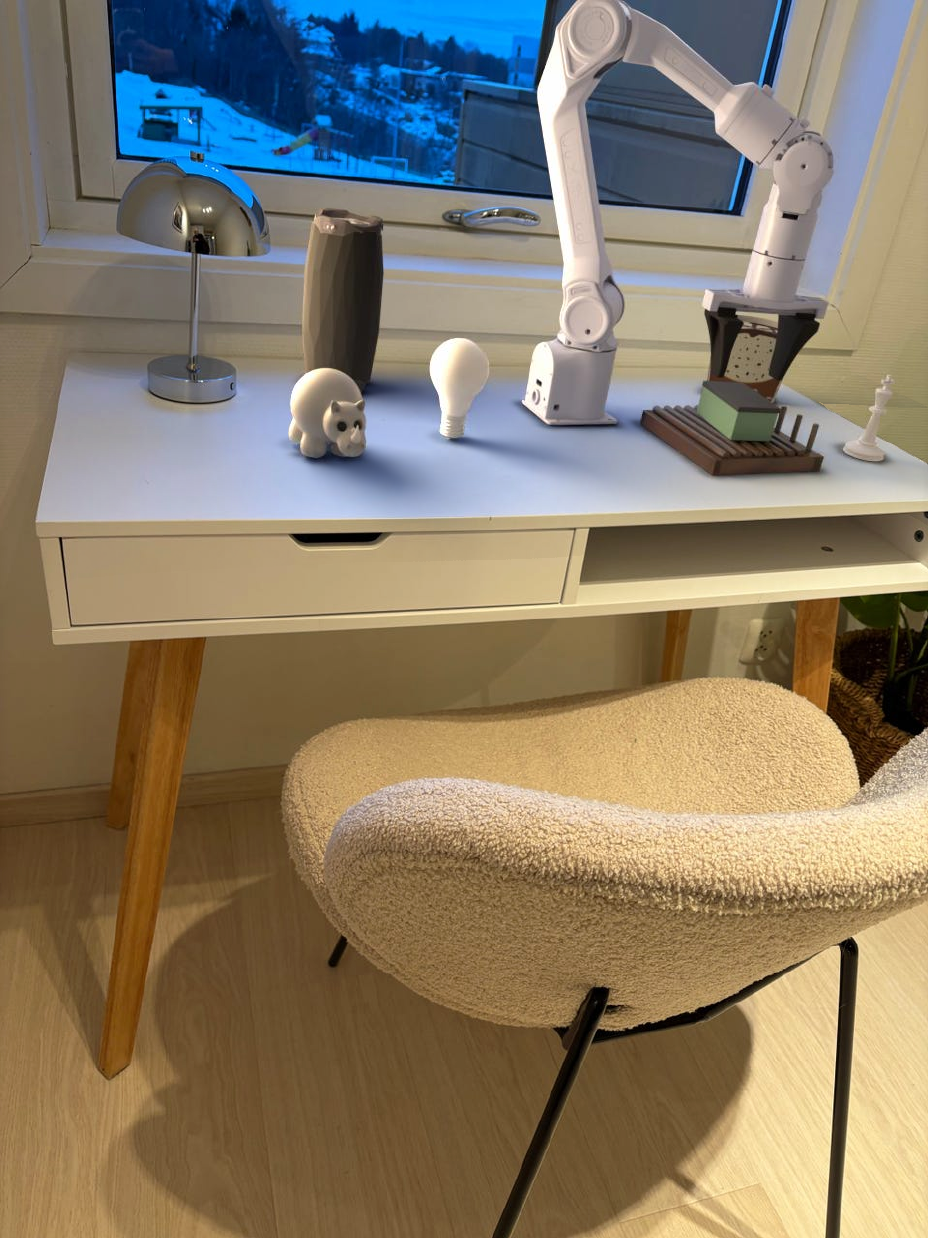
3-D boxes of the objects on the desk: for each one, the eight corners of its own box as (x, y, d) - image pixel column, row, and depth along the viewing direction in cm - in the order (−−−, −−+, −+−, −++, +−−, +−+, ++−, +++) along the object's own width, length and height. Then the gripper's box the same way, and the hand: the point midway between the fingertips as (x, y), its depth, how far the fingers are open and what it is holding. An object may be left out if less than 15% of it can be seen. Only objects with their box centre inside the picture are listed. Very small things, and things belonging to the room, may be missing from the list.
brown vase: (385, 384, 125) (401, 218, 116) (347, 402, 118) (360, 226, 108) (326, 367, 128) (336, 203, 118) (285, 384, 120) (292, 211, 111)
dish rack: (711, 475, 112) (723, 432, 110) (639, 423, 125) (648, 384, 122) (819, 470, 118) (833, 430, 115) (740, 422, 130) (750, 384, 128)
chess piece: (834, 447, 126) (859, 368, 121) (864, 445, 128) (890, 368, 123) (861, 462, 122) (889, 381, 117) (892, 460, 124) (920, 381, 119)
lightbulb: (488, 437, 114) (502, 340, 108) (465, 453, 108) (478, 352, 103) (437, 423, 115) (449, 327, 110) (412, 438, 110) (423, 338, 105)
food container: (775, 392, 145) (796, 321, 140) (783, 405, 139) (805, 332, 134) (690, 379, 145) (707, 308, 140) (694, 391, 140) (712, 319, 135)
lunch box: (729, 440, 115) (739, 406, 113) (695, 412, 123) (703, 380, 121) (771, 441, 117) (781, 408, 115) (734, 414, 125) (743, 382, 122)
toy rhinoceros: (316, 485, 96) (321, 399, 92) (279, 439, 105) (282, 358, 101) (386, 481, 99) (394, 397, 95) (345, 436, 108) (350, 358, 104)
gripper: (817, 251, 115) (783, 368, 122) (703, 241, 111) (675, 362, 118) (851, 265, 110) (814, 387, 116) (732, 255, 106) (701, 381, 112)
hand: (746, 376), depth 117 cm, fingers open, 7 cm apart
